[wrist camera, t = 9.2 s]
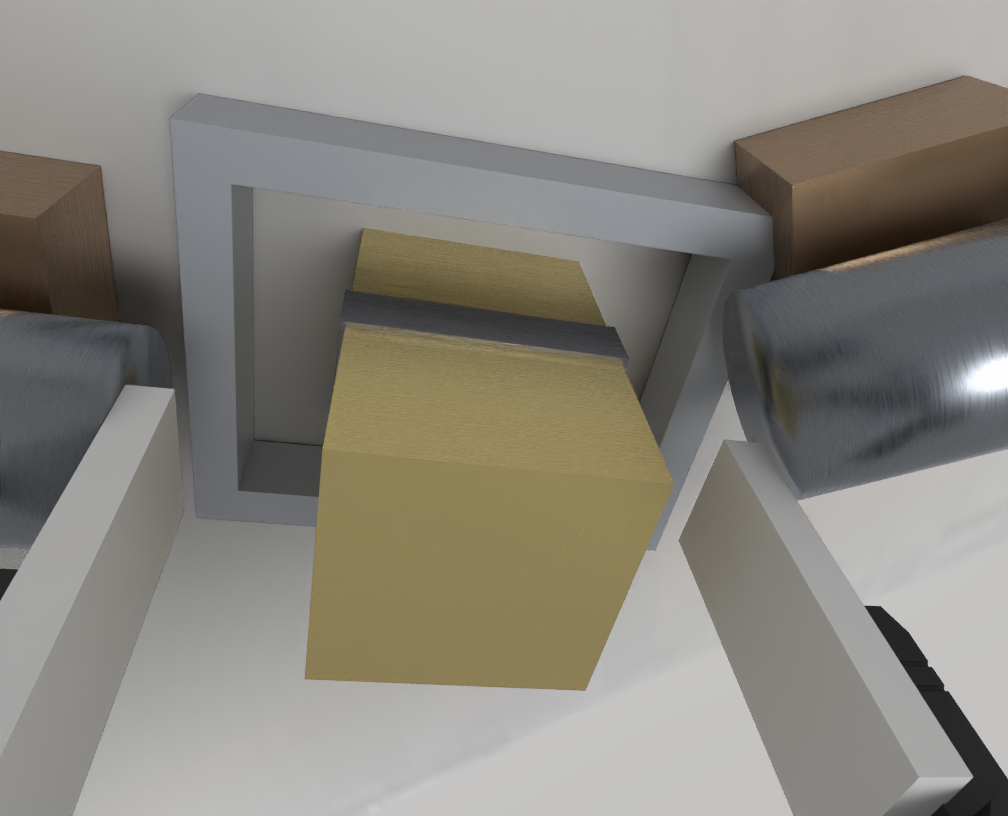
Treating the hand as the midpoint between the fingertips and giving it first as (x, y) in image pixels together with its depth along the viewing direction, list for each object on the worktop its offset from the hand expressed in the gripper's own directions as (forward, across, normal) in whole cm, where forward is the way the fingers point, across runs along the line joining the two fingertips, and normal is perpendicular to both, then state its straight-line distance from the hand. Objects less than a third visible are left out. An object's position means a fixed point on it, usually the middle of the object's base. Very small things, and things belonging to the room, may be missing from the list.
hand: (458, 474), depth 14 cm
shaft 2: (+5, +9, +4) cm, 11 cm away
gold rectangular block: (+5, 0, 0) cm, 5 cm away
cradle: (+5, 0, 0) cm, 5 cm away
